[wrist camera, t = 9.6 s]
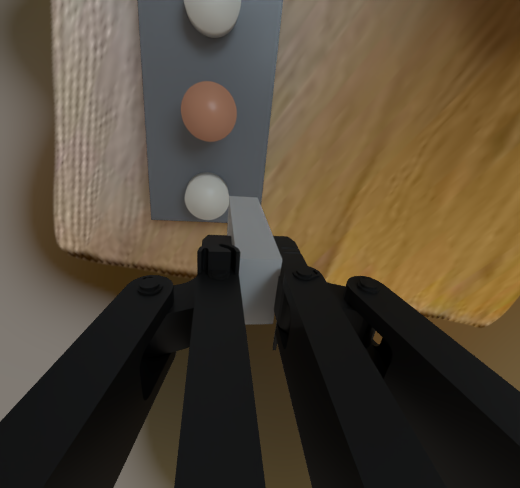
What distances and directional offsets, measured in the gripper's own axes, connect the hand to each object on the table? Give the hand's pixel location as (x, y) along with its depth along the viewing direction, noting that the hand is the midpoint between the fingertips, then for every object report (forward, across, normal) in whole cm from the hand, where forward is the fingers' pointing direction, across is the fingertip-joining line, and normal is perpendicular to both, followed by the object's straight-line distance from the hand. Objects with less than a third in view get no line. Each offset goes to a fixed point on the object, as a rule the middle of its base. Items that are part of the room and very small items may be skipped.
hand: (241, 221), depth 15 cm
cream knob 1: (+21, -2, +13) cm, 25 cm away
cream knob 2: (+21, -2, -3) cm, 22 cm away
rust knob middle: (+19, -2, +5) cm, 19 cm away
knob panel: (+22, -2, +4) cm, 22 cm away
